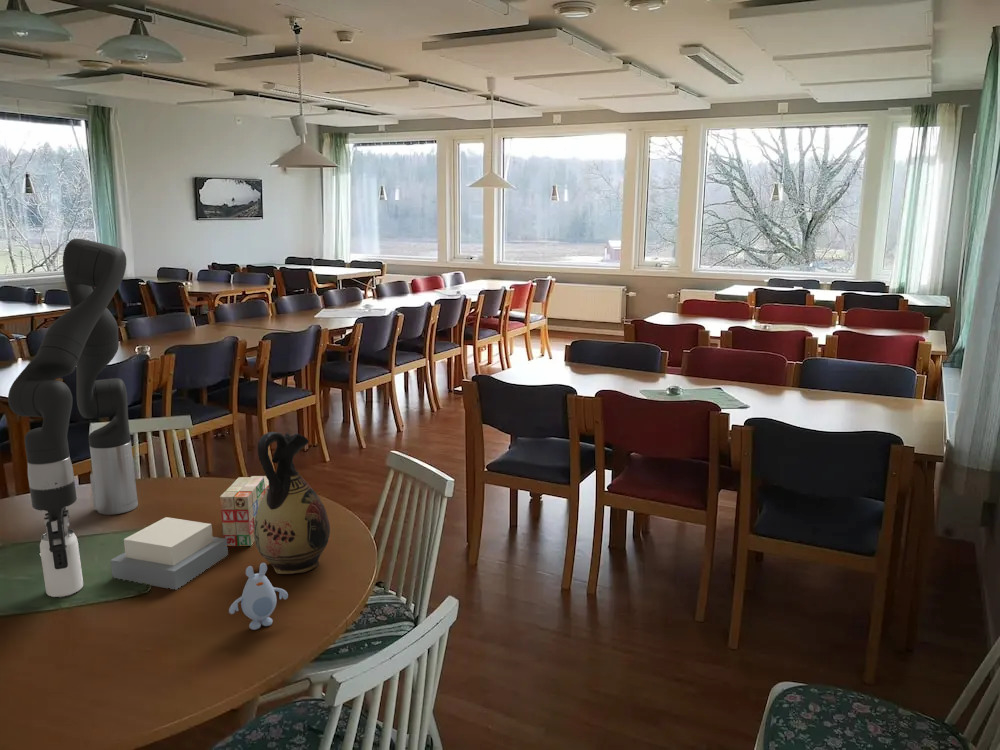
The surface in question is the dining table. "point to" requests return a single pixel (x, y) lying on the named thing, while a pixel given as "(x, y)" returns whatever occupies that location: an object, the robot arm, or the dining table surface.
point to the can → (66, 578)
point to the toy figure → (258, 598)
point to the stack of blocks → (242, 509)
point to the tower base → (169, 571)
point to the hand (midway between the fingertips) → (62, 559)
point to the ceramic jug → (289, 510)
